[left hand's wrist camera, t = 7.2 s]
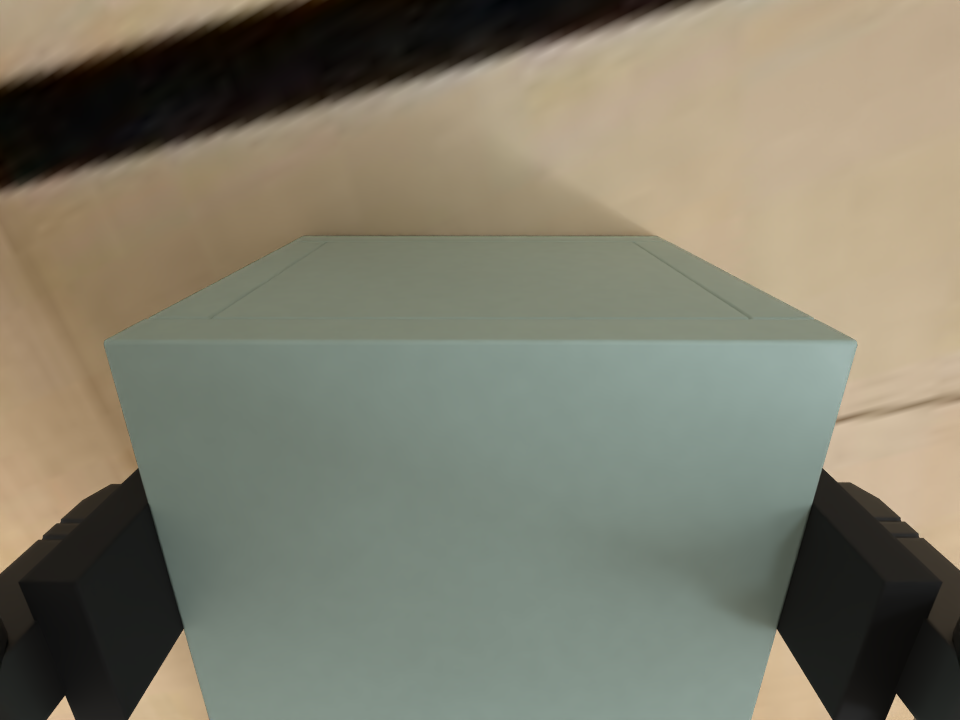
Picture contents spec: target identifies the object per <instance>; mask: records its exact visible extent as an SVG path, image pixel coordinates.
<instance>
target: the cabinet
mask: <svg viewBox="0 0 960 720" xmlns="http://www.w3.org/2000/svg"><path fill="white" fill-rule="evenodd" d="M104 347H105V351H106V354H107V358H108V361H109V365H110V369H111V372H112V376H113V379H114V383H115V386H116V390H117V393H118V397H119V401H120V404H121V408H122V411H123V415H124V418H125V422H126V425H127V429H128V432H129V436H130V440H131V443H132V447H133V450H134V454H135V457H136V461H137V464H138V468H139V471H140V475H141V479H142V482H143V486H144V489H145V493H146V496H147V500H148V503H149V507H150V510H151V514H152V518H153V521H154V525H155V528H156V532H157V535H158V539H159V542H160V546H161V550H162V553H163V557H164V560H165V564H166V567H167V571H168V574H169V578H170V581H171V585H172V589H173V592H174V596H175V599H176V603H177V606H178V610H179V613H180V617H181V620H182V624H183V628H184V631H185V635H186V638H187V642H188V645H189V649H190V652H191V656H192V659H193V663H194V667H195V670H196V674H197V677H198V681H199V684H200V688H201V691H202V695H203V699H204V702H205V706H206V709H207V713H208V716H209V720H751V718H752V714H753V711H754V707H755V704H756V700H757V697H758V693H759V690H760V686H761V683H762V679H763V676H764V672H765V669H766V665H767V662H768V658H769V654H770V651H771V647H772V644H773V640H774V637H775V633H776V630H777V626H778V623H779V619H780V616H781V612H782V609H783V605H784V602H785V598H786V595H787V591H788V588H789V584H790V580H791V577H792V573H793V570H794V566H795V563H796V559H797V556H798V552H799V549H800V545H801V542H802V538H803V535H804V531H805V528H806V524H807V521H808V517H809V514H810V510H811V506H812V503H813V499H814V496H815V492H816V489H817V485H818V482H819V478H820V475H821V471H822V468H823V464H824V461H825V457H826V454H827V450H828V447H829V443H830V440H831V436H832V432H833V429H834V425H835V422H836V418H837V415H838V411H839V408H840V404H841V401H842V397H843V394H844V390H845V387H846V383H847V380H848V376H849V373H850V369H851V366H852V362H853V358H854V355H855V351H856V348H857V341H856V340H854V339H852V338H850V337H849V336H847V335H845V334H843V333H841V332H839V331H837V330H835V329H833V328H831V327H830V326H828V325H826V324H824V323H822V322H820V321H818V320H816V319H814V318H813V317H811V316H809V315H807V314H805V313H803V312H801V311H799V310H798V309H796V308H794V307H792V306H790V305H788V304H786V303H784V302H782V301H780V300H779V299H777V298H775V297H773V296H771V295H769V294H767V293H765V292H763V291H761V290H760V289H758V288H756V287H754V286H752V285H750V284H748V283H746V282H744V281H742V280H740V279H739V278H737V277H735V276H733V275H731V274H729V273H727V272H725V271H723V270H721V269H720V268H718V267H716V266H714V265H712V264H710V263H708V262H706V261H704V260H702V259H701V258H699V257H697V256H695V255H693V254H691V253H689V252H687V251H685V250H683V249H682V248H680V247H678V246H676V245H674V244H672V243H670V242H668V241H666V240H664V239H662V238H660V237H658V236H302V237H300V238H298V239H296V240H295V241H293V242H291V243H289V244H287V245H285V246H283V247H282V248H280V249H278V250H276V251H274V252H272V253H270V254H268V255H266V256H264V257H263V258H261V259H259V260H257V261H255V262H253V263H251V264H249V265H247V266H246V267H244V268H242V269H240V270H238V271H236V272H234V273H232V274H230V275H229V276H227V277H225V278H223V279H221V280H219V281H217V282H215V283H213V284H212V285H210V286H208V287H206V288H204V289H202V290H200V291H198V292H196V293H195V294H193V295H191V296H189V297H187V298H185V299H183V300H181V301H179V302H178V303H176V304H174V305H172V306H170V307H168V308H166V309H164V310H162V311H161V312H159V313H157V314H155V315H153V316H151V317H149V319H145V320H142V321H140V322H138V323H137V324H135V325H133V326H131V327H129V328H127V329H125V330H123V331H121V332H119V333H118V334H116V335H114V336H112V337H110V338H108V339H106V340H105V341H104Z"/></svg>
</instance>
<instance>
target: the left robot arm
mask: <svg viewBox="0 0 960 720" xmlns="http://www.w3.org/2000/svg"><path fill="white" fill-rule="evenodd" d="M918 535H919V534H918V533H917V532H916V531H915V530H914V529H913V528H911V527H910V526H909V525H908V524H907V523H906V522H901V520H900V517H899V516H898V515H897V514H896V513H895V512H893V511H892V510H891V509H890V508H889V507H888V506H887V505H886V504H884V503H883V502H882V501H881V500H880V499H879V498H877V497H875V496H873V495H872V494H870V493H868V492H866V491H864V490H863V489H861V488H859V487H857V486H856V485H854V484H852V483H850V482H836V481H835V480H834V479H833V478H832V477H831V476H830V475H829V474H828V473H827V472H826V471H825V470H824V469H823V468H822V471H821V475H820V478H819V482H818V485H817V489H816V492H815V496H814V499H813V503H812V506H811V510H810V514H809V517H808V521H807V524H806V528H805V531H804V535H803V538H802V542H801V545H800V549H799V552H798V556H797V559H796V563H795V566H794V570H793V573H792V577H791V580H790V584H789V588H788V591H787V595H786V598H785V602H784V605H783V609H782V612H781V616H780V619H779V623H778V626H777V630H778V631H779V633H780V635H781V636H782V638H783V639H784V641H785V643H786V644H787V646H788V648H789V649H790V651H791V653H792V654H793V656H794V657H795V659H796V661H797V662H798V664H799V666H800V667H801V669H802V671H803V672H804V674H805V675H806V677H807V679H808V680H809V682H810V684H811V685H812V687H813V688H814V690H815V692H816V693H817V695H818V697H819V698H820V700H821V702H822V703H823V705H824V706H825V708H826V710H827V711H828V713H829V715H830V716H831V718H832V720H885V719H886V717H887V715H888V712H889V710H890V707H891V705H892V703H893V700H894V698H895V695H896V694H897V695H898V696H899V697H900V699H901V700H902V701H903V703H904V704H905V705H906V707H907V708H908V709H909V711H910V712H911V713H912V715H913V716H914V717H915V718H914V720H960V570H959V569H958V568H956V567H955V566H954V565H953V564H952V563H951V562H950V561H949V560H947V559H946V558H945V557H944V556H943V555H942V554H941V553H940V552H938V551H937V550H936V549H935V548H934V547H933V546H932V545H931V544H929V543H928V542H927V541H926V540H925V539H924V538H919V536H918ZM183 629H184V628H183V624H182V620H181V617H180V613H179V610H178V606H177V603H176V599H175V596H174V592H173V589H172V585H171V581H170V578H169V574H168V571H167V567H166V564H165V560H164V557H163V553H162V550H161V546H160V542H159V539H158V535H157V532H156V528H155V525H154V521H153V518H152V514H151V510H150V507H149V503H148V500H147V496H146V493H145V489H144V486H143V482H142V479H141V475H140V471H139V468H138V469H137V470H136V471H135V472H134V473H133V474H132V475H131V476H129V477H128V478H127V479H126V480H125V481H124V482H123V483H122V484H110V485H109V486H107V487H105V488H103V489H102V490H100V491H98V492H96V493H95V494H93V495H91V496H89V497H88V498H86V499H84V500H82V501H81V502H80V503H79V504H78V505H77V506H76V507H74V508H73V509H72V510H71V511H70V512H69V513H68V514H67V515H66V516H64V517H63V518H62V519H61V523H57V524H55V525H54V526H53V527H52V528H51V529H50V530H49V531H48V532H47V533H45V534H44V535H43V539H42V540H38V541H36V542H35V543H34V544H33V545H32V546H31V547H30V548H29V549H28V550H26V551H25V552H24V553H23V554H22V555H21V556H20V557H19V558H17V559H16V560H15V561H14V562H13V563H12V564H11V565H10V566H9V567H7V568H6V569H5V570H4V571H3V572H2V573H1V574H0V720H47V719H48V717H49V716H50V715H51V713H52V712H53V711H54V709H55V708H56V707H57V705H58V704H59V703H60V701H61V700H62V699H63V697H64V696H66V698H67V701H68V703H69V705H70V708H71V710H72V713H73V715H74V717H75V720H128V719H129V717H130V716H131V714H132V712H133V711H134V709H135V707H136V706H137V704H138V703H139V701H140V699H141V698H142V696H143V694H144V693H145V691H146V689H147V688H148V686H149V685H150V683H151V681H152V680H153V678H154V676H155V675H156V673H157V671H158V670H159V668H160V667H161V665H162V663H163V662H164V660H165V658H166V657H167V655H168V653H169V652H170V650H171V649H172V647H173V645H174V644H175V642H176V640H177V639H178V637H179V635H180V634H181V632H182V631H183Z"/></svg>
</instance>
